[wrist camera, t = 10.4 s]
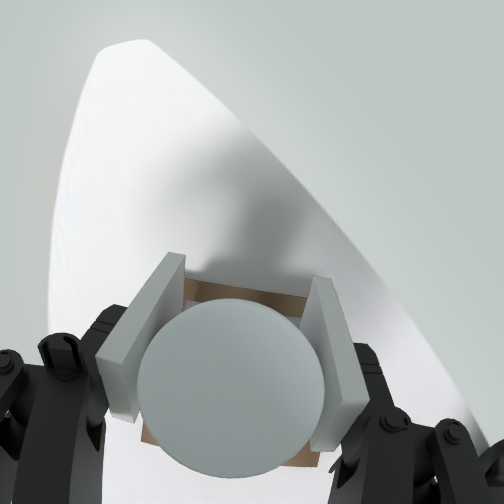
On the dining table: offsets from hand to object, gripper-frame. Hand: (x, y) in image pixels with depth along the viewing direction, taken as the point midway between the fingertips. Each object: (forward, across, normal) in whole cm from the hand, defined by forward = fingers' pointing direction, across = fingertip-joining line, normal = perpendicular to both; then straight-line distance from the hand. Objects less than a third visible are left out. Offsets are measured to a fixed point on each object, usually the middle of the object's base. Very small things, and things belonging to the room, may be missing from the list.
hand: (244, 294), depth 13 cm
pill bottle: (0, 0, -5) cm, 5 cm away
